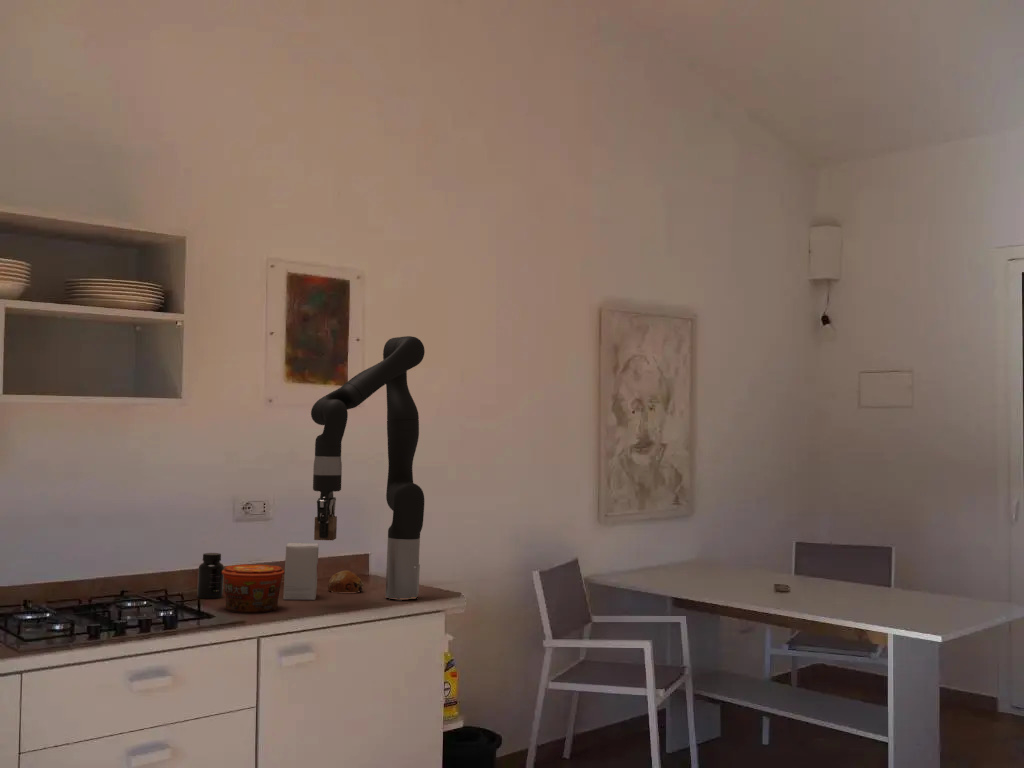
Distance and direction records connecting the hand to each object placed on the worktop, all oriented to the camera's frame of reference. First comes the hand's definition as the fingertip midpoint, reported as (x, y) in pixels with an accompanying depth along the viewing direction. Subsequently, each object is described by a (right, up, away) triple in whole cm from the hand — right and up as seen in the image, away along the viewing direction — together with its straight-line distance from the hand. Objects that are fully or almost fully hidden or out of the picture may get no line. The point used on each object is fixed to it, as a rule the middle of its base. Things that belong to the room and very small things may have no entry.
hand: (325, 536), depth 266 cm
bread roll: (+1, -21, +28) cm, 35 cm away
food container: (-18, -18, -8) cm, 27 cm away
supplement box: (-10, -19, +13) cm, 25 cm away
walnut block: (0, -1, 0) cm, 1 cm away
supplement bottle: (-34, -18, +8) cm, 39 cm away
